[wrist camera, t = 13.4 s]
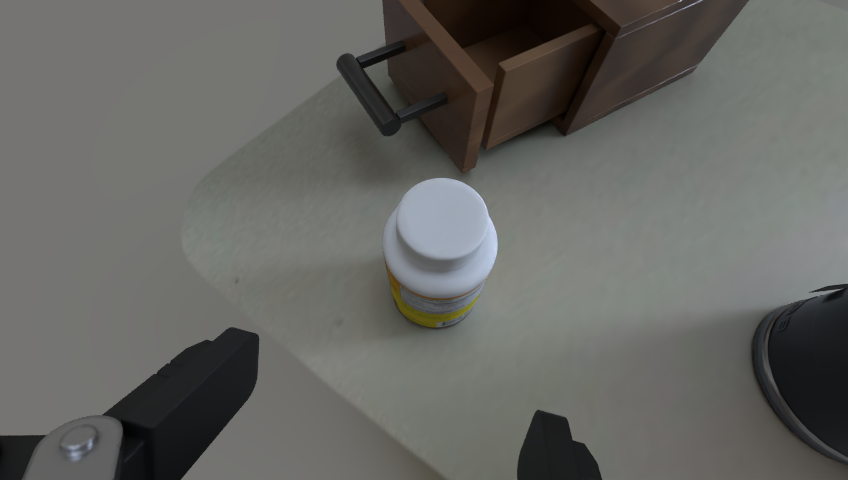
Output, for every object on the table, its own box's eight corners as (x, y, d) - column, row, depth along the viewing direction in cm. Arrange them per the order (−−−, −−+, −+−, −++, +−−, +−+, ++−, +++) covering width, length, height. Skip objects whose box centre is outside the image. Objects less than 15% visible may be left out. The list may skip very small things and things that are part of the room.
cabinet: (564, 136, 31) (621, 26, 23) (477, 41, 36) (496, -80, 27) (692, 72, 35) (785, -46, 26) (598, -8, 39) (650, -130, 31)
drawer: (403, 202, 28) (399, 127, 20) (334, 96, 32) (310, 2, 25) (601, 105, 32) (655, 13, 25) (518, 22, 36) (543, -76, 29)
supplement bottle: (411, 239, 27) (408, 145, 18) (487, 268, 26) (525, 185, 17) (377, 312, 25) (354, 247, 16) (458, 346, 24) (484, 299, 15)
